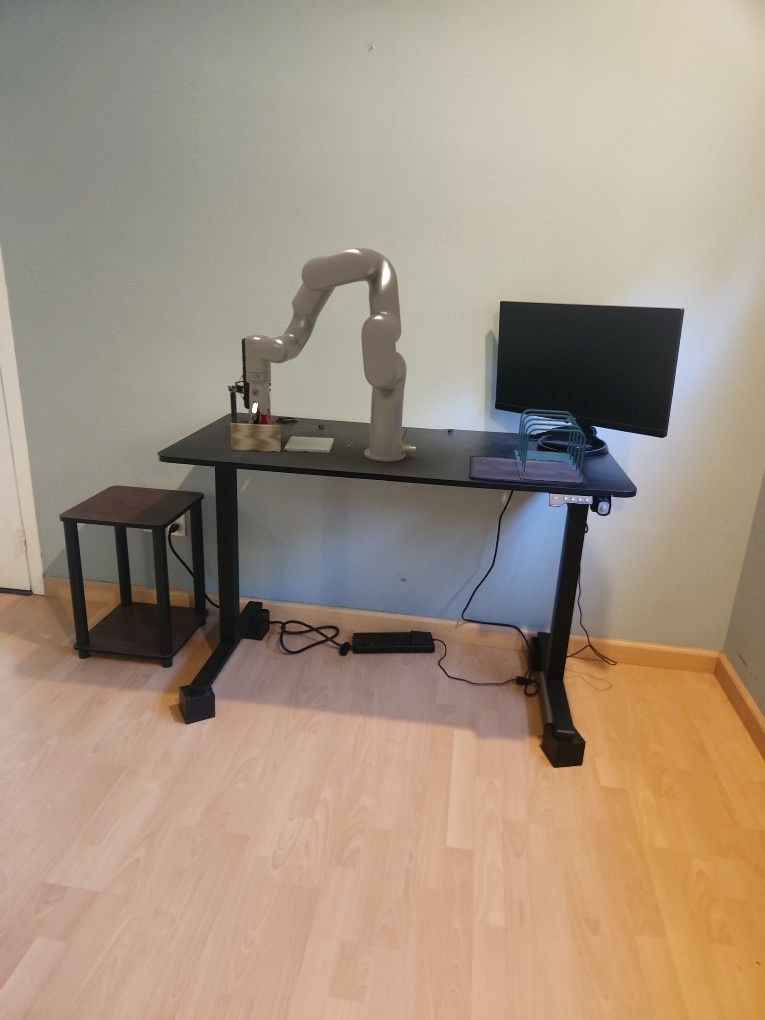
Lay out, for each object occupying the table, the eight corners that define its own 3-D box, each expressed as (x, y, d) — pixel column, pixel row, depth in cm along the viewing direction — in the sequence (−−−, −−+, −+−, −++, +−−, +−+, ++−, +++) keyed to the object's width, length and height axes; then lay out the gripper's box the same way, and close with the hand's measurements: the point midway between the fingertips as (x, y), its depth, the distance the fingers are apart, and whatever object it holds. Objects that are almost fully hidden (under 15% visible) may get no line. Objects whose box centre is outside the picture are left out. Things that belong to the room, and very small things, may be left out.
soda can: (266, 446, 204) (265, 408, 200) (245, 444, 206) (244, 406, 201) (274, 440, 211) (274, 403, 207) (254, 438, 212) (253, 402, 208)
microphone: (266, 434, 218) (264, 342, 207) (227, 431, 219) (223, 340, 208) (277, 424, 231) (276, 337, 220) (240, 421, 232) (237, 335, 221)
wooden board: (280, 450, 200) (280, 425, 198) (280, 451, 199) (279, 426, 196) (232, 448, 201) (231, 423, 198) (231, 449, 199) (230, 424, 196)
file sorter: (513, 455, 207) (519, 407, 201) (569, 459, 205) (576, 411, 200) (520, 480, 184) (526, 427, 178) (582, 485, 182) (591, 431, 177)
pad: (333, 440, 214) (334, 438, 213) (329, 452, 201) (329, 450, 200) (291, 438, 214) (291, 436, 214) (284, 450, 201) (284, 448, 200)
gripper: (265, 382, 193) (266, 440, 199) (275, 372, 209) (276, 426, 215) (240, 381, 193) (242, 438, 199) (252, 371, 209) (253, 425, 215)
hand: (260, 431), depth 207 cm, fingers open, 7 cm apart
